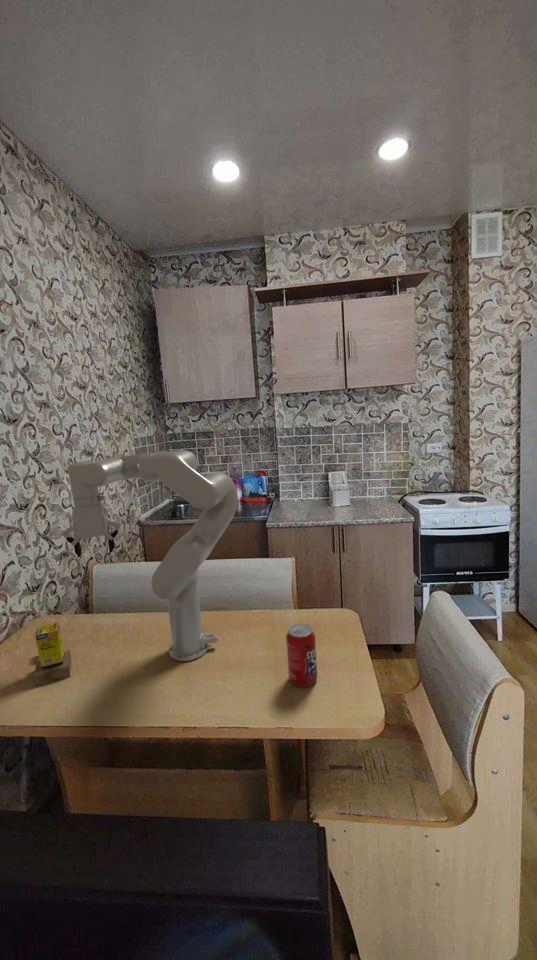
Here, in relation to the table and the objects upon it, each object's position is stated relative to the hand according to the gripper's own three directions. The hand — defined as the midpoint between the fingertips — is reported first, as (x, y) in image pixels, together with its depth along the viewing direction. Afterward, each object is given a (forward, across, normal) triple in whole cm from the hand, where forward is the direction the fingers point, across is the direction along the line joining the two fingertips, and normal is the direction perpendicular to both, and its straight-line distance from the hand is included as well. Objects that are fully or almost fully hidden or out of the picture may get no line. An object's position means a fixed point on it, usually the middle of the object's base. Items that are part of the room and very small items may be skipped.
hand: (95, 553), depth 133 cm
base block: (+32, +15, +10) cm, 37 cm away
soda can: (+34, -55, +36) cm, 74 cm away
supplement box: (+29, +15, +10) cm, 34 cm away
